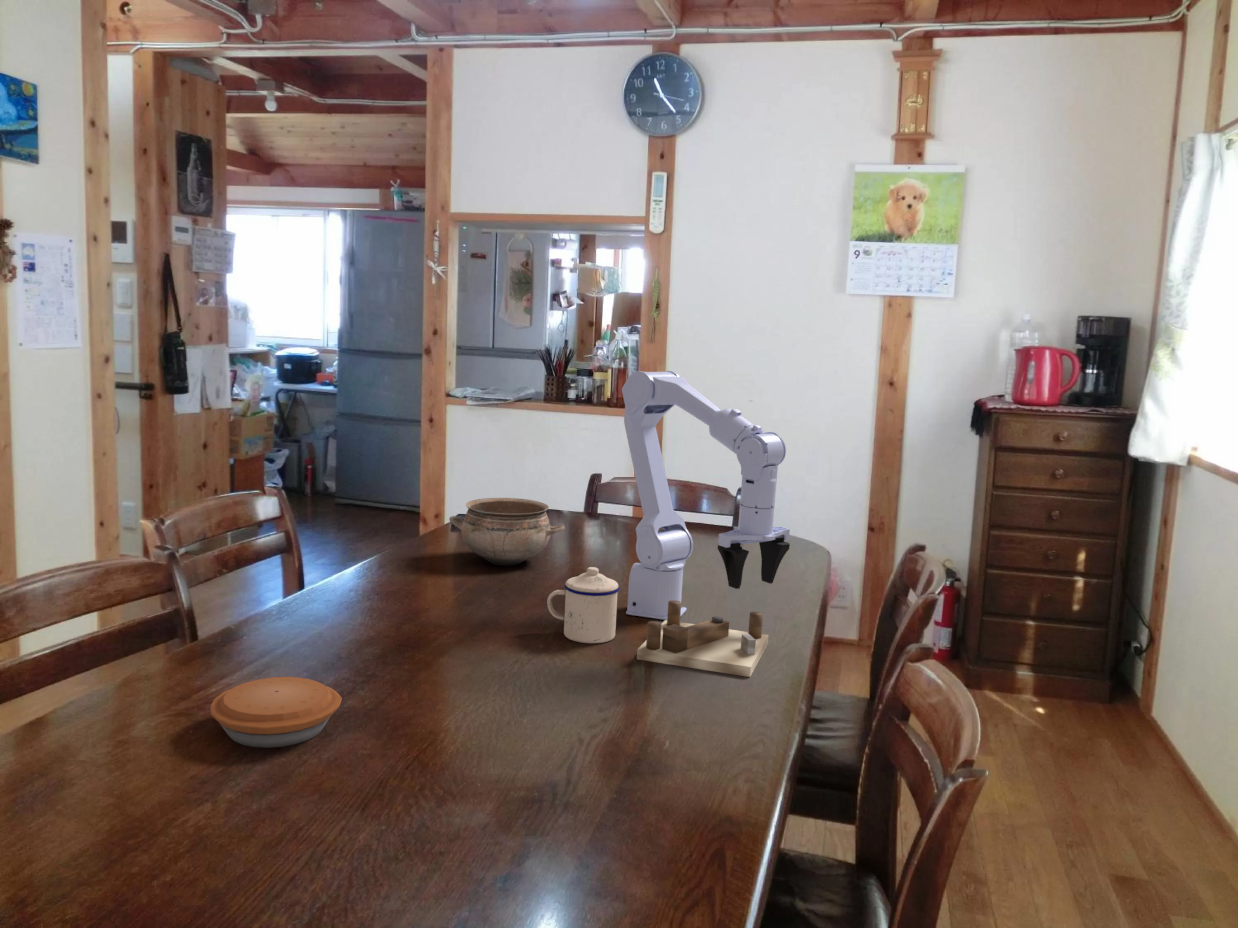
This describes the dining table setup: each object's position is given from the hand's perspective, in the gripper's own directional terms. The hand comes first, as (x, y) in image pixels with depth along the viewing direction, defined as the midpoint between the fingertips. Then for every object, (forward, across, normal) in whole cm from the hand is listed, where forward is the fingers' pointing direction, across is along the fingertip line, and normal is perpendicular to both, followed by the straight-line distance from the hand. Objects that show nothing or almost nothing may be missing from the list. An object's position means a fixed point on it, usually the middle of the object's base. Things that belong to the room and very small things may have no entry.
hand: (750, 584), depth 169 cm
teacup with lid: (+10, -24, +15) cm, 30 cm away
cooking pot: (+10, -11, +63) cm, 65 cm away
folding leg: (+8, -12, -1) cm, 14 cm away
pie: (+10, -79, +2) cm, 79 cm away
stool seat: (+10, -10, -1) cm, 14 cm away
